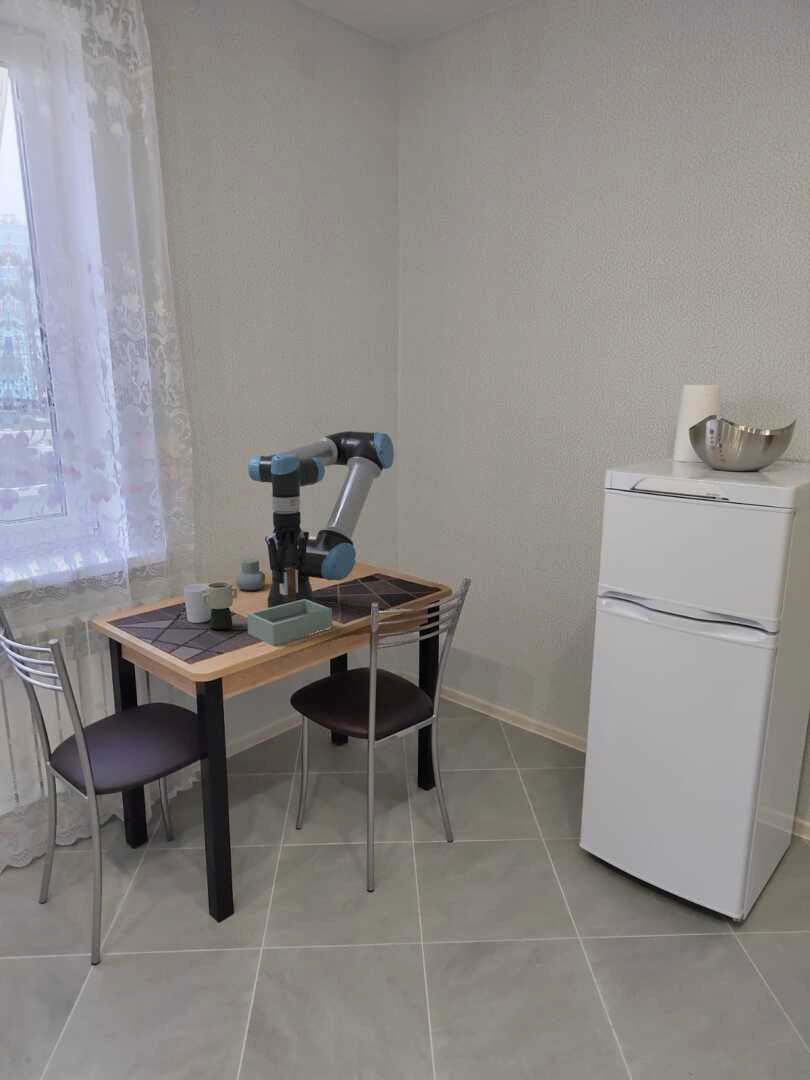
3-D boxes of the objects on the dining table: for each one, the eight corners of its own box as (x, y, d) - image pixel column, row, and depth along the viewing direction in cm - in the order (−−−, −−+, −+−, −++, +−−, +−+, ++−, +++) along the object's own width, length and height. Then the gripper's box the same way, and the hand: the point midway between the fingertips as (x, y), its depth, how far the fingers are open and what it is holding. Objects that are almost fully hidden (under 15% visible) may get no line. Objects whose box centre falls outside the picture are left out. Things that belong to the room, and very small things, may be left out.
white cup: (181, 618, 214) (179, 586, 212) (206, 613, 219) (204, 582, 217) (192, 625, 208) (190, 592, 206) (217, 620, 213) (215, 587, 211)
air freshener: (243, 583, 251) (242, 556, 248) (266, 584, 250) (265, 556, 248) (235, 592, 240) (233, 564, 238) (259, 593, 240) (258, 564, 237)
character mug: (232, 620, 212) (230, 578, 210) (244, 626, 207) (242, 583, 204) (198, 628, 205) (195, 585, 202) (210, 635, 200) (207, 591, 197)
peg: (290, 602, 199) (289, 571, 197) (280, 600, 201) (279, 569, 199) (298, 599, 202) (297, 568, 200) (288, 597, 204) (287, 566, 202)
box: (273, 645, 192) (273, 625, 191) (248, 633, 202) (247, 613, 200) (332, 628, 206) (331, 608, 205) (305, 617, 215) (305, 598, 214)
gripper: (269, 516, 188) (272, 601, 193) (318, 509, 199) (319, 590, 204) (254, 512, 193) (257, 595, 198) (302, 506, 204) (304, 584, 209)
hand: (289, 592), depth 201 cm, fingers closed on peg, 3 cm apart
